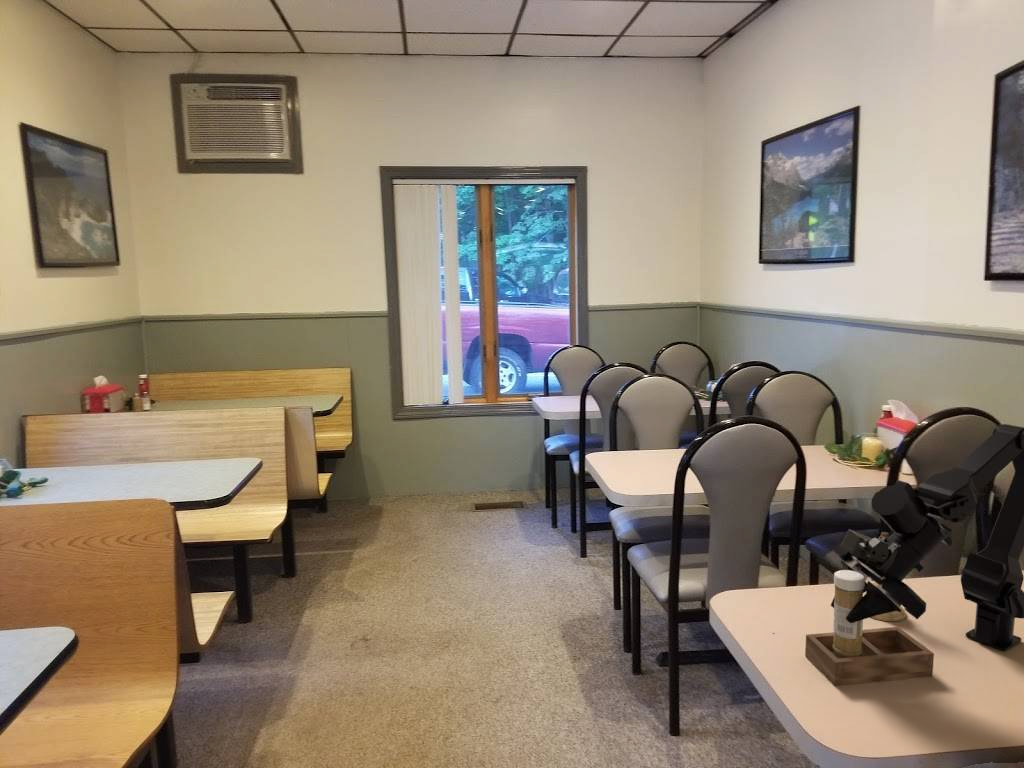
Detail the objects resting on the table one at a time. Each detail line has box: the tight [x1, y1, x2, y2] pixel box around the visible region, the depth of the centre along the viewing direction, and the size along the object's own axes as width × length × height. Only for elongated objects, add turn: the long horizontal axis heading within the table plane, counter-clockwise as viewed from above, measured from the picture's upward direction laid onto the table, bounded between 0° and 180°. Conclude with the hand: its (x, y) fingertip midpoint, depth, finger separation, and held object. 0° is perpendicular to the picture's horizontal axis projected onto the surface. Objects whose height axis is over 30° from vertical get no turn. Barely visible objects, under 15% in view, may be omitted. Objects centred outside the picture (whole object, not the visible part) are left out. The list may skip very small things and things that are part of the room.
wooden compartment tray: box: [804, 626, 935, 687], centre depth 120 cm, size 17×9×4 cm, turn 97°
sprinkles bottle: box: [833, 569, 866, 657], centre depth 118 cm, size 5×5×14 cm
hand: (840, 614), depth 118 cm, fingers closed on sprinkles bottle, 4 cm apart
